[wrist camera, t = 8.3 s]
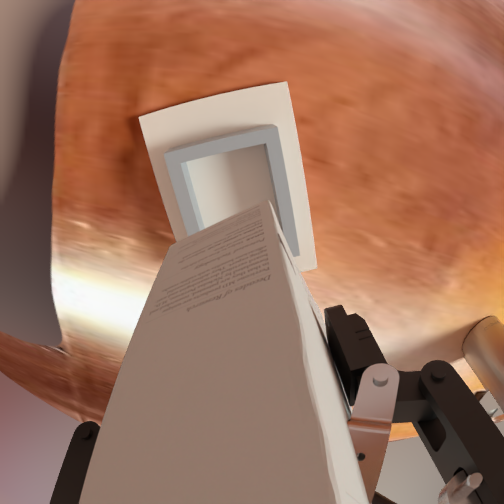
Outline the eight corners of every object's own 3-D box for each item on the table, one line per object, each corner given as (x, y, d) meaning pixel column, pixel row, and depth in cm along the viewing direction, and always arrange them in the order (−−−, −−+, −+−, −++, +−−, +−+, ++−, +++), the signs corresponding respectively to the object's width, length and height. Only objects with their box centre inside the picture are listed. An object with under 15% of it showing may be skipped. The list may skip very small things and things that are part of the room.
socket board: (315, 263, 36) (324, 282, 33) (195, 289, 37) (192, 310, 33) (285, 81, 27) (293, 79, 23) (141, 116, 27) (129, 119, 24)
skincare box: (321, 311, 19) (405, 557, 6) (232, 347, 20) (246, 589, 7) (263, 188, 15) (385, 567, 2) (157, 241, 16) (60, 563, 3)
